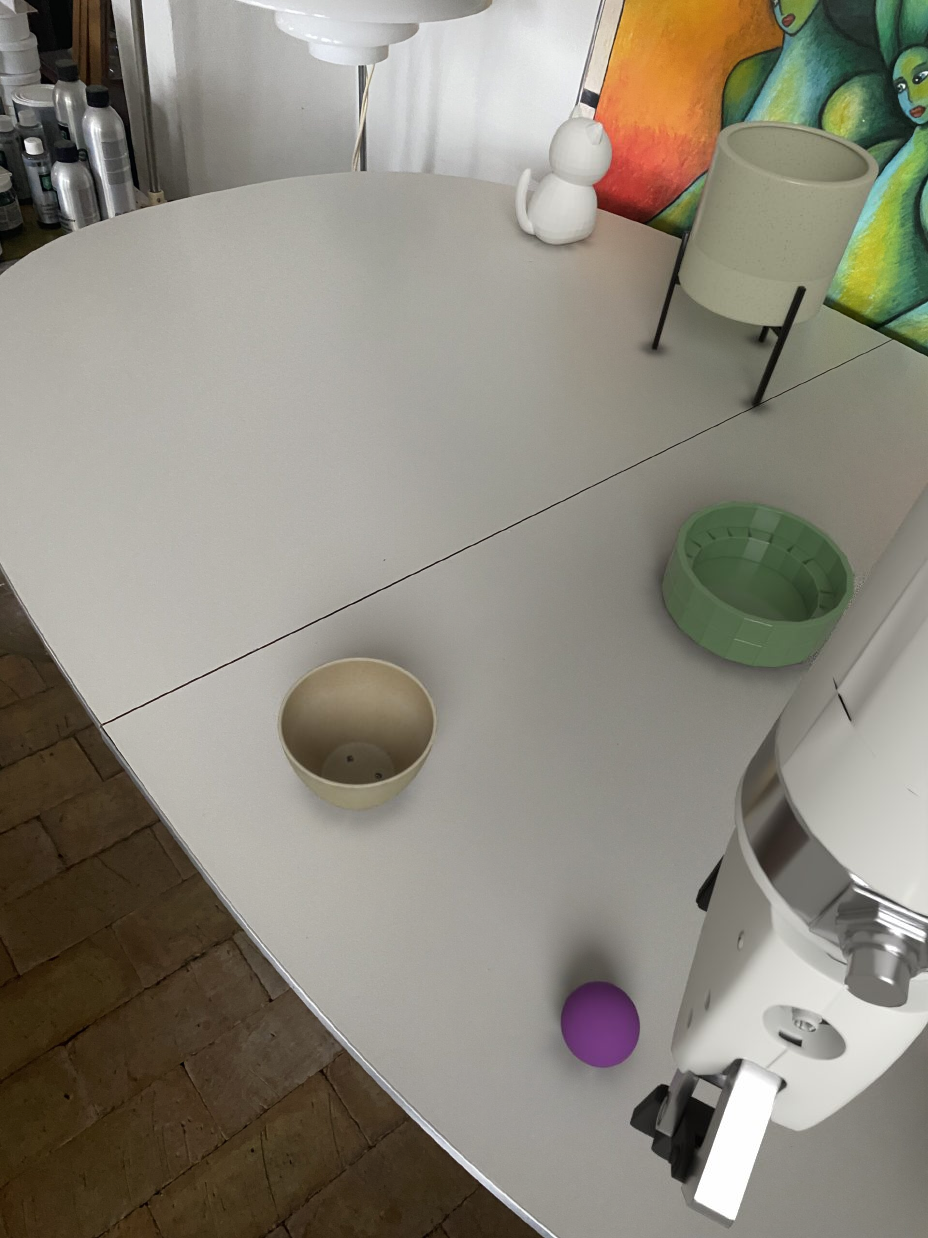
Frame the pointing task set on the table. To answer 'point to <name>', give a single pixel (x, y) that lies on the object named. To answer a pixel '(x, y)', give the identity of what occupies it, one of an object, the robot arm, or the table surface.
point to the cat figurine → (566, 183)
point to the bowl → (756, 583)
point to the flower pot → (357, 730)
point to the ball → (600, 1024)
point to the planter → (772, 226)
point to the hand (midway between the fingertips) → (701, 1017)
